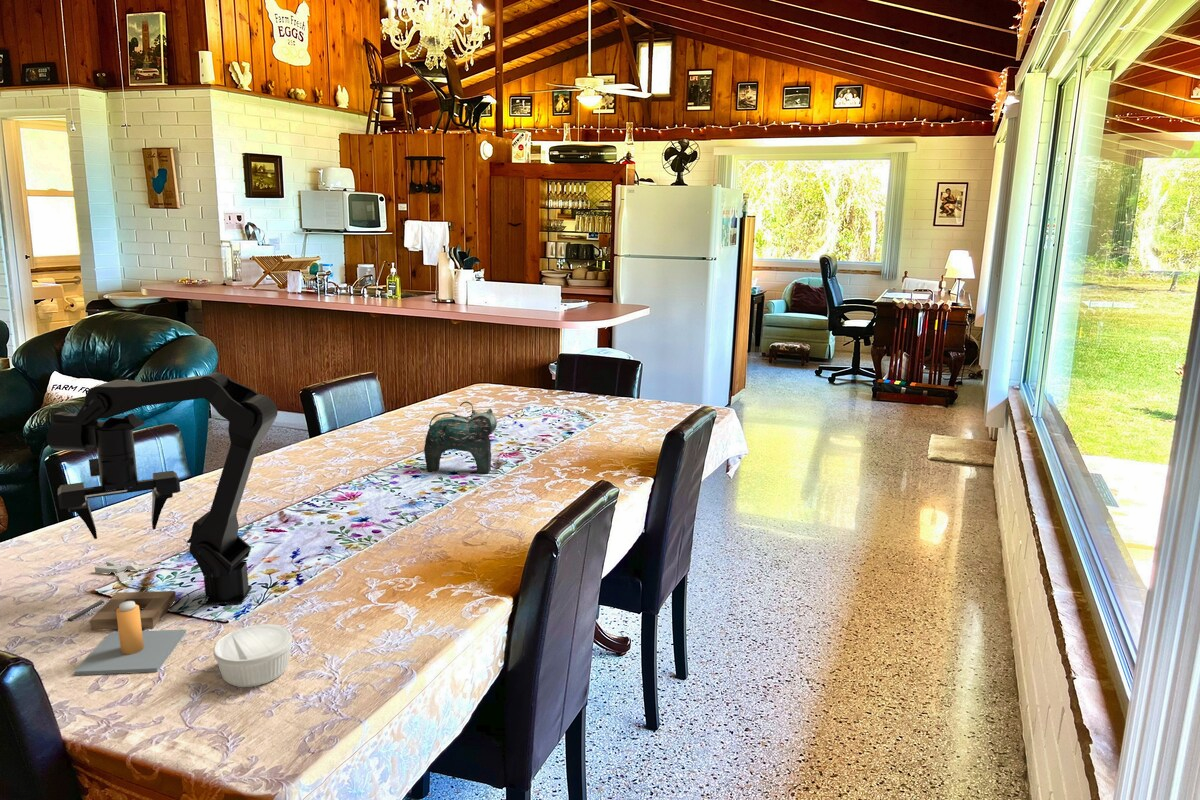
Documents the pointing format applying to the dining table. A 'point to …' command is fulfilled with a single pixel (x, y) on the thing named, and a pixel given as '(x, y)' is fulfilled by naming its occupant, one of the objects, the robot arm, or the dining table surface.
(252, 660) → the ramekin
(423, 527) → the dining table surface
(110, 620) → the brown square frame
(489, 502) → the dining table surface
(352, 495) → the dining table surface
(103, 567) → the pliers
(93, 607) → the strip
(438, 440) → the green animal figurine
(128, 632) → the orange cylinder
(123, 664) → the rubber mat
